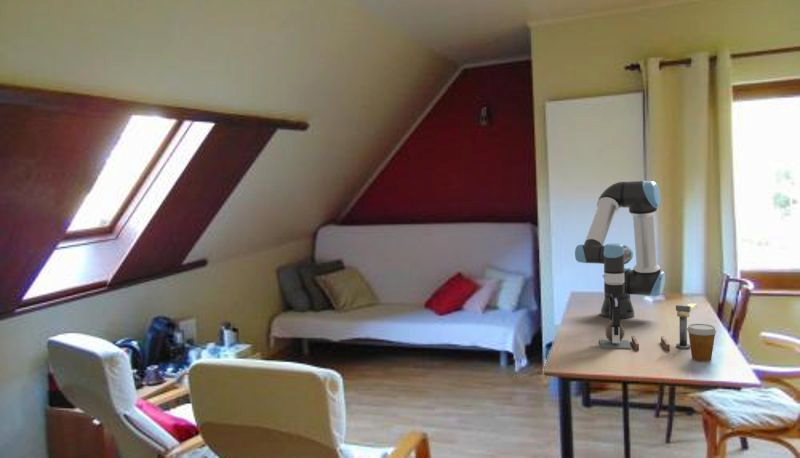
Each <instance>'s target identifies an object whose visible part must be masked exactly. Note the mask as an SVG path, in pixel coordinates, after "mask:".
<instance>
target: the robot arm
mask: <svg viewBox="0 0 800 458" xmlns="http://www.w3.org/2000/svg"><path fill="white" fill-rule="evenodd" d="M661 199H662V197H661V191H660V187H659V184H658V183H656V182H655V181H652V180H638V181H637V180H635V181H633V180H632V181H618V182H615V183H613V184H611V185H610V186H608V187H607V188H606V189H604V191H603V192H602V193H601V194H600V195H599V197H598V200H597V203H596V207H597V208H596V211H595V214H594V217H593V220H592V222H591V225H590V228H589V231H588V233H587V236H586V238H585V241H584V244H578V245H576V247H575V250H574V257H575V260H576V262H577V263H583V264H603V272H604V273H603V274H602V278H603V280H604V281H603V283H604V284H603V285H604V286H603V292H604V299H603V302H602V305H601V309H600V316H602V317H604V318H605V317H606V318H609V322H610V321H611V319H612V322H613V325H611V327H612V343H620V324H621V319H629V318H633V317H635V309H634V306H633V303H632V300H631V295H635V296H645V297H646V296H647V297H659V296H661V295H662V293H663V290H664V288H665V283H666V282H665V281H666V274H665V271H663V270H662V269H661V266H660V265H659V264H658V263H657V252H656V251H657V250H656V249H657V248H656V234H655V233H656V232H655V217H654V214H655V213H657V211H658V208H659V207H660V206H661V201H662V200H661ZM620 208H628V213H629V214H631V215H632V221H633V233H634V235H633V236H634V237H633V238H634V250H635V262H636V263H635V264H634V265H633V268H632V269H631V266H629V265H626V264H628V263H630V261H632V259H633V257H634V252H633V249H632V248H631V247H630V246H629V245H625V244H622V243H605V242H606V241H605V240H606V238H607V235H608V232H609V230H610V227H611V224H612V222H613V219H614V216H615V214H616V213H617V212H618V211H619V209H620ZM604 244H605V245H604Z"/></svg>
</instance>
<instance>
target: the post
mask: <svg viewBox="0 0 800 458" xmlns="http://www.w3.org/2000/svg"><path fill="white" fill-rule="evenodd" d="M687 328H688V317H679V343H676V344H675V348H677V349H681V350H689V349H691V347H690V343H689V344H688V330H687Z"/></svg>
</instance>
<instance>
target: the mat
mask: <svg viewBox="0 0 800 458" xmlns="http://www.w3.org/2000/svg"><path fill="white" fill-rule="evenodd" d="M598 341H599V345H600V347H601V349H603V350H604V349H608V350H632V346H631V344H630V342H629V340H628V339H622V340H621V341H620V343H612V342H611V341H609V340H608V339H599V340H598Z"/></svg>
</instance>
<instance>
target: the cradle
mask: <svg viewBox="0 0 800 458" xmlns="http://www.w3.org/2000/svg"><path fill="white" fill-rule="evenodd" d="M631 343H632V345H633V347H634V349H635V351H640V344H639V342H638V340H637V338H636V337H635V335H632V336H631ZM660 343H661V345H662V346H663V348H664V349H665V351H666V352H670V351H671V347H670V343H669V342H668V341H667V339H666V338H665V336H660Z"/></svg>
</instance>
